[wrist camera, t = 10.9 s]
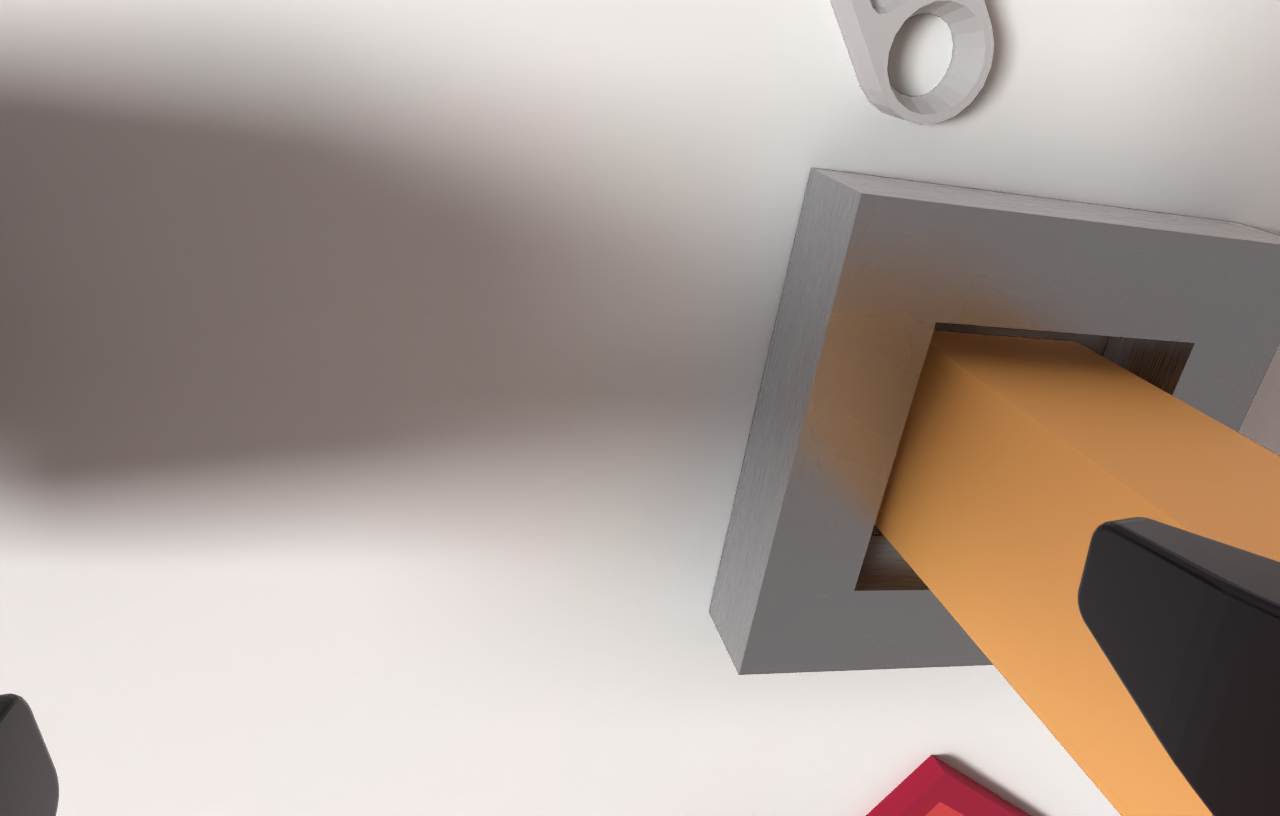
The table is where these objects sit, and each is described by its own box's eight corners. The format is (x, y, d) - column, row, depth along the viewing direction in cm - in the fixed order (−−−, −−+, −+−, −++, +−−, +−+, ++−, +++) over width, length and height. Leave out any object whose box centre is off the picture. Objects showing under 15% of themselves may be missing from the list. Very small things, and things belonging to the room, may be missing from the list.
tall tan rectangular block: (856, 503, 24) (1201, 910, 14) (908, 328, 22) (1354, 650, 12) (1014, 506, 26) (1434, 878, 15) (1076, 341, 24) (1607, 640, 13)
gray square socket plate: (709, 611, 25) (738, 674, 23) (811, 168, 20) (861, 192, 18) (1074, 605, 28) (1130, 659, 26) (1236, 222, 23) (1323, 249, 21)
